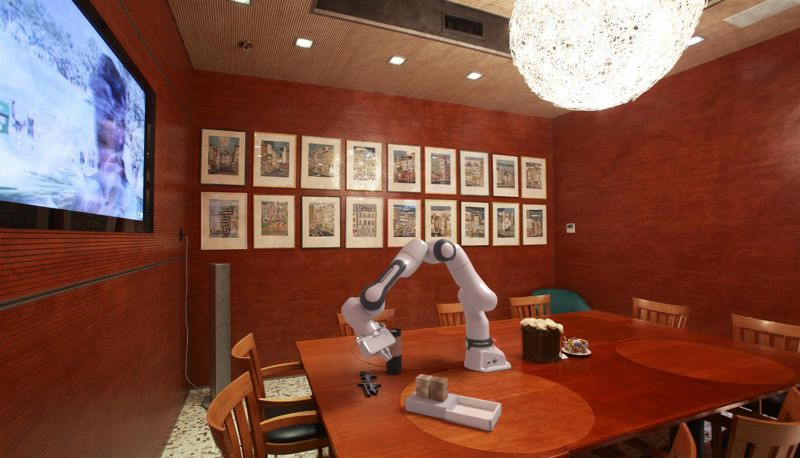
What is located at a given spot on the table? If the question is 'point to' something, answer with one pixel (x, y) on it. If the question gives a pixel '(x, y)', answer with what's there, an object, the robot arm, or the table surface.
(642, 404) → the table surface
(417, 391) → the oak block
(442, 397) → the walnut block
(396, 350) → the travel mug
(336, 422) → the table surface
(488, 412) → the tray
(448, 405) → the white box cover
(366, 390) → the nameplate
